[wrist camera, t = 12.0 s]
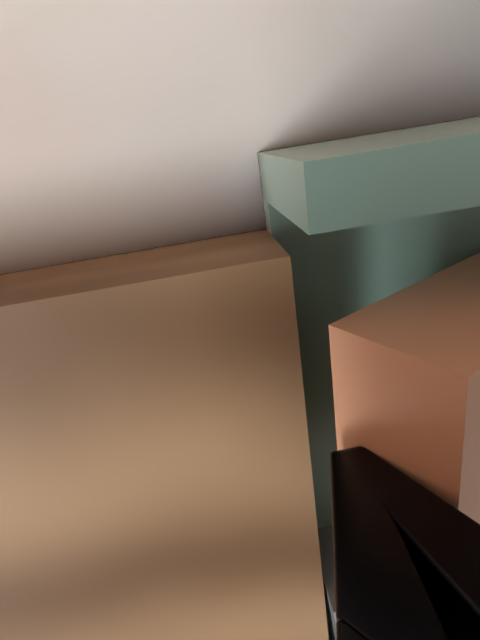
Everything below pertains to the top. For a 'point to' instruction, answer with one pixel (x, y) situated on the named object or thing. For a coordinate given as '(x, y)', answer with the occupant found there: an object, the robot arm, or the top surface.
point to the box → (365, 239)
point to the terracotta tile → (416, 382)
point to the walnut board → (157, 449)
